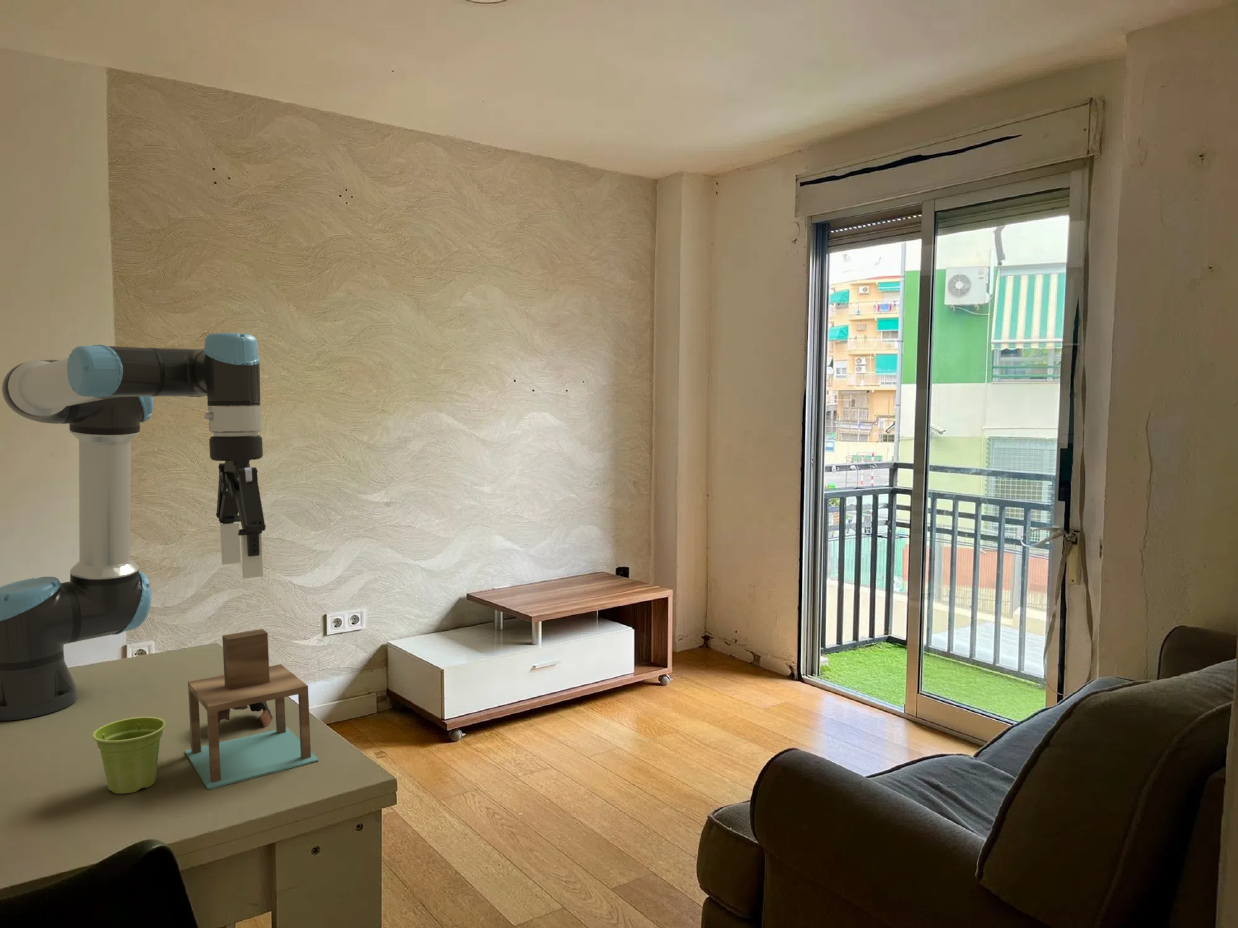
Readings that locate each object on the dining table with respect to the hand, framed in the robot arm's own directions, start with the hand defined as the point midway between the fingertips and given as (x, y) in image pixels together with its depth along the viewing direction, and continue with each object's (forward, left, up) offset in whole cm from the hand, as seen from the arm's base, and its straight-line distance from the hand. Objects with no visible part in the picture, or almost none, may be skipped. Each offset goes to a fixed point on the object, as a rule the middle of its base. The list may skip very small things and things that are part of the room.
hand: (241, 570), depth 136 cm
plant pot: (0, -16, -30) cm, 34 cm away
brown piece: (0, 0, -30) cm, 30 cm away
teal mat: (0, 0, -30) cm, 30 cm away
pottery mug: (-16, +3, -30) cm, 35 cm away
